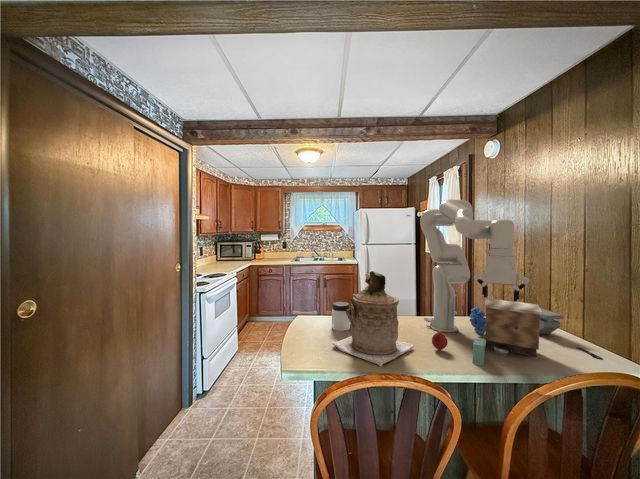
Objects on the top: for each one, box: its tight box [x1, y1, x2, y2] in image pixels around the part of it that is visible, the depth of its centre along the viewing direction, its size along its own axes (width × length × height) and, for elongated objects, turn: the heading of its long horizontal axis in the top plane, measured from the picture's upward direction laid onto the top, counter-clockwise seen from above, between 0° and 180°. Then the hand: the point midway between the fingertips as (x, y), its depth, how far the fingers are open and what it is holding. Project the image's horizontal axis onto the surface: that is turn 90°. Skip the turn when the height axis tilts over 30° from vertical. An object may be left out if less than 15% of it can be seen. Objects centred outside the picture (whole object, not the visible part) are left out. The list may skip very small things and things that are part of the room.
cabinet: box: [484, 297, 542, 357], centre depth 116 cm, size 18×14×19 cm
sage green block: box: [472, 337, 486, 366], centre depth 113 cm, size 4×18×7 cm, turn 148°
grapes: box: [469, 306, 486, 335], centre depth 137 cm, size 12×7×12 cm, turn 4°
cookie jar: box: [331, 270, 414, 368], centre depth 118 cm, size 25×25×32 cm
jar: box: [331, 301, 351, 332], centre depth 141 cm, size 9×8×12 cm
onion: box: [431, 330, 448, 351], centre depth 117 cm, size 6×6×8 cm
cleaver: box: [556, 343, 604, 361], centre depth 125 cm, size 29×1×10 cm
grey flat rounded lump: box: [493, 345, 510, 356], centre depth 115 cm, size 5×5×2 cm
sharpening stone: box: [520, 301, 564, 335], centre depth 142 cm, size 25×8×11 cm, turn 4°
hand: (500, 298), depth 109 cm, fingers open, 9 cm apart
